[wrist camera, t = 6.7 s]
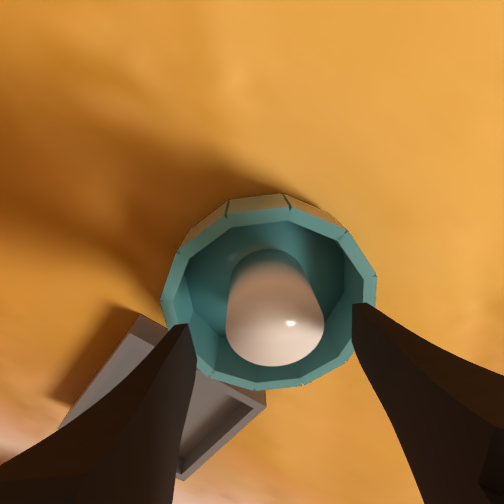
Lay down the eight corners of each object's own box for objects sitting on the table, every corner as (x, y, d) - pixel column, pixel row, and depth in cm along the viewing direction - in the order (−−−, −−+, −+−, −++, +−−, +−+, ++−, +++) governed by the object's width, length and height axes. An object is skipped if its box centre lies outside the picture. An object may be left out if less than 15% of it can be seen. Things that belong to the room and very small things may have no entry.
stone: (234, 319, 17) (231, 370, 13) (225, 252, 15) (219, 290, 12) (306, 312, 17) (323, 362, 13) (305, 245, 15) (324, 281, 12)
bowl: (197, 354, 19) (188, 398, 16) (159, 206, 15) (136, 225, 12) (349, 337, 18) (371, 378, 15) (352, 181, 15) (381, 194, 11)
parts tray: (188, 456, 23) (183, 481, 21) (72, 405, 20) (57, 429, 19) (264, 384, 20) (266, 406, 18) (140, 314, 17) (129, 332, 16)
